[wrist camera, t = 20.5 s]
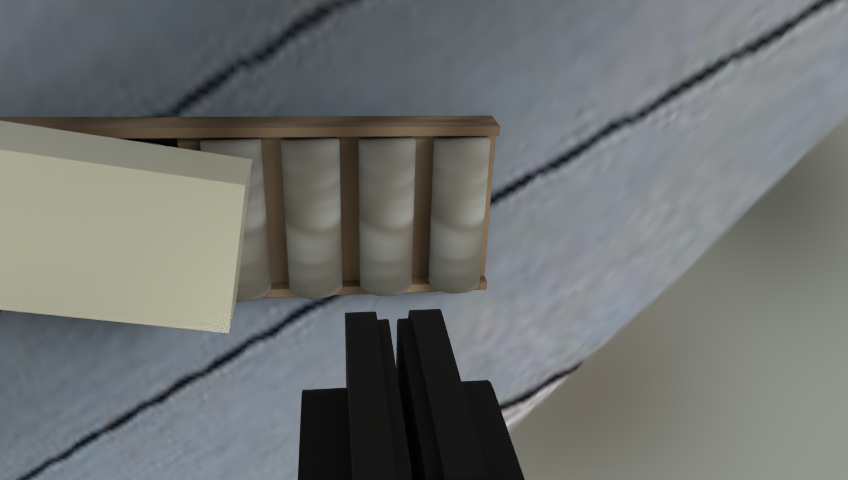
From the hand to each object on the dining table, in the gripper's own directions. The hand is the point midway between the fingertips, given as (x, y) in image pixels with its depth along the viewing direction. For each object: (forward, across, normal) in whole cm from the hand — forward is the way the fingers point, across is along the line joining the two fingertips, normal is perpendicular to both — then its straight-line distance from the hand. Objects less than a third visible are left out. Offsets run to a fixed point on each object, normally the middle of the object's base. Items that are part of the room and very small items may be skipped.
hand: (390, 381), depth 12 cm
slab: (+24, +11, +7) cm, 27 cm away
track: (+27, +6, +8) cm, 29 cm away
